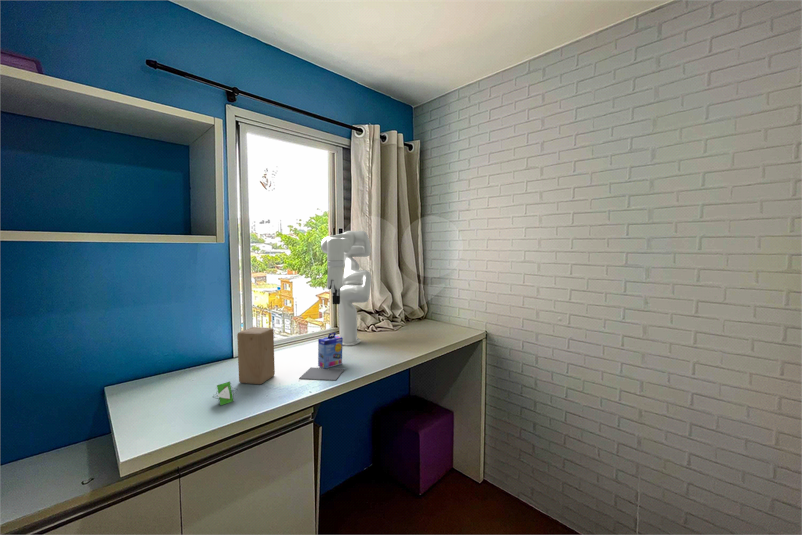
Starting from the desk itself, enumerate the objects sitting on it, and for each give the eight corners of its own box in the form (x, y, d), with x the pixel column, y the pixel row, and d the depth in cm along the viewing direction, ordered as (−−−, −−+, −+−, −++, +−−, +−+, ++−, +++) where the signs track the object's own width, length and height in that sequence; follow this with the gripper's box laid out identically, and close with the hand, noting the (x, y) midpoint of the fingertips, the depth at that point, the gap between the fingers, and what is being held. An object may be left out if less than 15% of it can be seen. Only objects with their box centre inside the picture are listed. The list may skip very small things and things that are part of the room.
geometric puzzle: (208, 395, 116) (213, 380, 112) (229, 388, 121) (234, 374, 118) (215, 412, 113) (220, 398, 109) (236, 405, 118) (242, 391, 114)
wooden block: (261, 385, 129) (259, 333, 128) (237, 383, 131) (236, 332, 130) (275, 375, 139) (274, 327, 138) (254, 373, 141) (252, 326, 140)
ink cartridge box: (324, 369, 144) (324, 335, 144) (317, 366, 148) (317, 333, 148) (343, 363, 152) (343, 331, 152) (335, 361, 156) (335, 330, 155)
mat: (310, 368, 147) (310, 367, 147) (344, 369, 145) (344, 368, 145) (299, 379, 135) (299, 378, 135) (335, 380, 133) (335, 379, 133)
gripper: (333, 263, 165) (333, 301, 166) (322, 265, 150) (322, 306, 151) (348, 263, 164) (348, 301, 165) (338, 265, 149) (339, 306, 150)
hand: (336, 303), depth 158 cm, fingers closed
